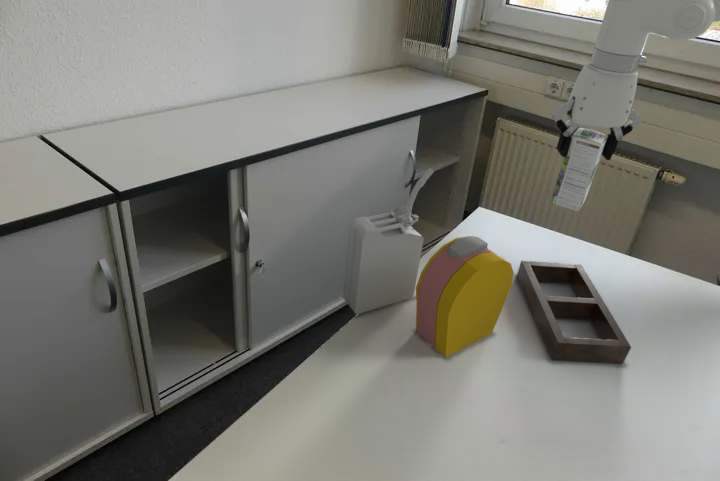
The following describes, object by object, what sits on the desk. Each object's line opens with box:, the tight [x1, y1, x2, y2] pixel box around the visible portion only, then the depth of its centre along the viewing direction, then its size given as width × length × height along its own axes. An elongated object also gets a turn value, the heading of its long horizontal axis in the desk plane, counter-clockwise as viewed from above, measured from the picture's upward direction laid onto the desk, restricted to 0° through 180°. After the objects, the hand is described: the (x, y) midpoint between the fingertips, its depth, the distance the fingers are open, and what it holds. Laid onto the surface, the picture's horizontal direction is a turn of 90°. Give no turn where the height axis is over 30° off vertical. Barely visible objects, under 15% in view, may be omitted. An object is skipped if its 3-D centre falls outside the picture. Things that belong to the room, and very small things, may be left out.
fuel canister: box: [342, 167, 435, 315], centre depth 95 cm, size 15×5×25 cm, turn 120°
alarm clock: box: [415, 235, 515, 358], centre depth 90 cm, size 15×8×18 cm, turn 126°
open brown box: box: [516, 260, 632, 365], centre depth 100 cm, size 12×24×4 cm, turn 1°
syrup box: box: [550, 127, 608, 213], centre depth 104 cm, size 6×6×14 cm
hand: (583, 155), depth 102 cm, fingers closed on syrup box, 7 cm apart
